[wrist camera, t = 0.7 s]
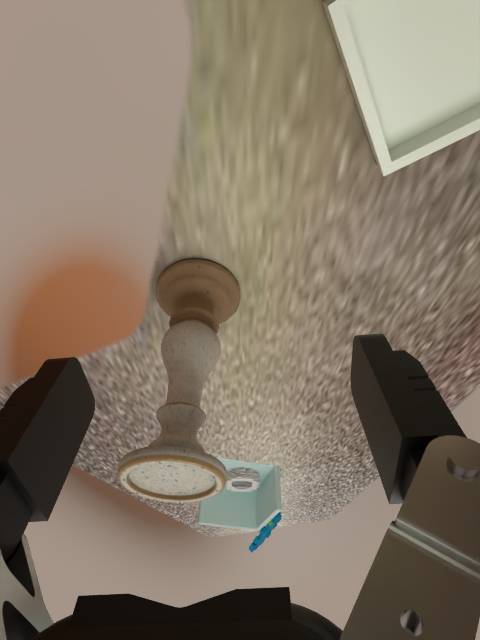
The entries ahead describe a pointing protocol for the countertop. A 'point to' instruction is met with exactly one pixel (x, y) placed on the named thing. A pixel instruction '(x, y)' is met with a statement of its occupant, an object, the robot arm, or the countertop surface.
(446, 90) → the tray
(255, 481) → the right angle wall
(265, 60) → the countertop surface
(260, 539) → the teal irregular piece
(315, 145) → the countertop surface
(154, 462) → the candle holder
